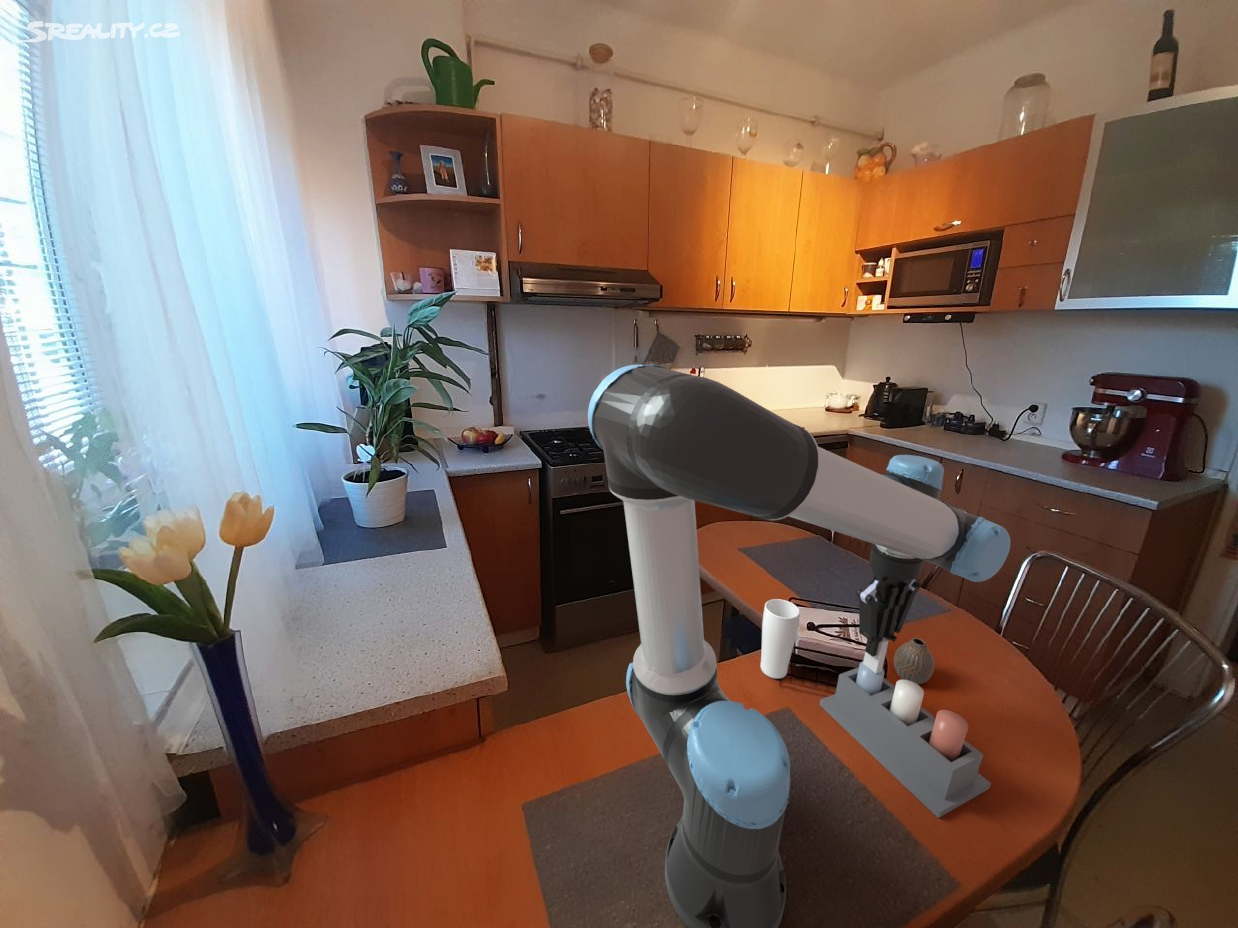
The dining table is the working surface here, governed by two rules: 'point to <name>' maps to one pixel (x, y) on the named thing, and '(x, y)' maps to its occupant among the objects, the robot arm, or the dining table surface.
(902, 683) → the white rounded cylinder
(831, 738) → the dining table surface
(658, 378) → the robot arm
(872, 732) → the grey slotted holder
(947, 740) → the pink rounded cylinder
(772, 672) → the drinking glass
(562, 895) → the dining table surface
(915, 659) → the vase
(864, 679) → the light blue rounded cylinder
